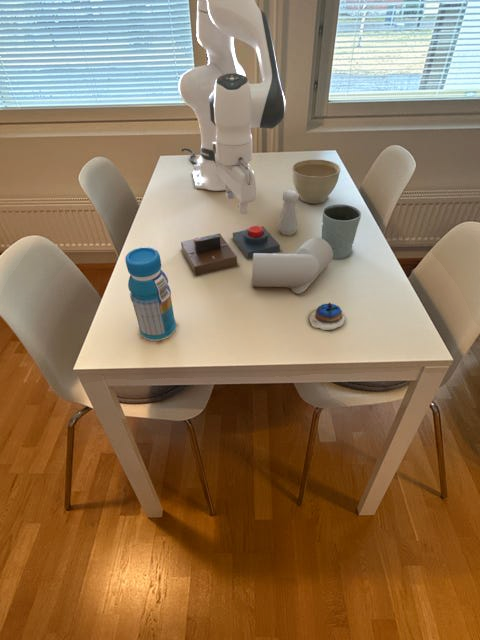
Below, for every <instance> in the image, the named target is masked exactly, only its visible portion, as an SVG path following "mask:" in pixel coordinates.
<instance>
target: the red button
mask: <svg viewBox="0 0 480 640" xmlns="http://www.w3.org/2000/svg"><path fill="white" fill-rule="evenodd" d="M248 229H249V236H251V237H261V236H262V235H263V228H262V226H259V225H252V226H250V227H249V228H248Z"/></svg>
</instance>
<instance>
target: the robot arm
mask: <svg viewBox="0 0 480 640" xmlns="http://www.w3.org/2000/svg"><path fill="white" fill-rule="evenodd" d="M196 2H197V3H196V38H197V42H198V44H199V45H200V46H201V47H202V48H203V49H204V50H205V51H206V54H207V64H203V65H199V66H194V67H192V68H191V69H189V70H187V71H186V72H184V73H182V74H181V76H180V78H179V81H178V91H179V95H180V97H181V99H182V101H183V102H184V103H185V104H186V105H187V106H189V107H190V108H191V109H192V111H193V112H194V114H195V116H196V118H197V122H198V125H199V133H200V141H201V142H200V143H201V145H200V156H199V157H198V158H197V160H196V161H194V160H193V158H194V157H195V152H194V151H193V150H192V149H190V148H188V147H183V148H182V149H181V152H184V151H187V152H189V153H190V154H191V155H190V156H189V161H190V163H192V164H193V171H192V178H193V182H194V187H195V188H196V189H203V190H208V191H213V192H215V191H216V192H220V191H225V196H226V198H227V199H228V200H231V199H234V198H235V197H236V198H237V200H238V202H239V203H238V205H237V211H238V212H239V214H241V215H242V214H247V208H248V204H249V203H253V202H255V201H256V199H257V187H256V177H255V172H254V170H253V169H252V168H251V167H250V164H249V163H250V162H252V160H253V135H252V131H251V130H252V129H251V128H260V129H270V130H272V129H274V128H275V127H277V126H278V125H279V124H280V123H281V122H282V121H283V120H284V117H285V113H286V98H285V95H284V91H283V87H282V83H281V80H280V74H279V70H278V64H277V58H276V53H275V52H276V51H275V48H274V42H273V36H272V31H271V28H270V23H269V19H268V17H267V14H266V12H265V11H263V10H262V9H260V7H259V6H258V5H257V3H256V1H255V0H197V1H196ZM235 39H237V40H239V41H241V42H244V43H245V44H246V45H248V46H250V47H252V48H253V50H254V51H255V53H256V55H257V59H258V66H259V69H260V70H259V71H260V78H261V82H260V83H250V81H249V78H248V77H247V76H246V72H245V69H244V68H243V66H242V64H240V62H239V61H238V59H237V56H236V55H237V54H236V50H235V42H234V41H235Z"/></svg>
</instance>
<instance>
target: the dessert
mask: <svg viewBox="0 0 480 640" xmlns="http://www.w3.org/2000/svg"><path fill="white" fill-rule="evenodd" d="M309 323H310V325H311V327H312V328H316V329H320V330H322V331H330V330H331V331H332V330H335V329H337V328H339V327H341V326H343V325H344V323H345V317H344V316H343V310H342V309H341V307H340V306H339V305H337V304H334V303H331V302H328V303H322V304H320V305H319V306H318V307H317V308H316V309H315V310H313V312H311V314H310V315H309Z"/></svg>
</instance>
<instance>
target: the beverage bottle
mask: <svg viewBox="0 0 480 640" xmlns="http://www.w3.org/2000/svg"><path fill="white" fill-rule="evenodd" d="M124 259H125V265H126V269H127V272H128V274H129V275H130V276H129V278H128V284H127V287H128V290H129V297H130V301H131V303H132V306H133V309H134V313H135V317H136V320H137V324H138V328H139V332H140V335H141V336H142V337H143V338H144V339H146V340H148V341H153V342H159V341H163V340H166V339H168V338H169V337H171V336H172V335H173V334H174V333H175V331H176V328H177V323H176V319H175V314H174V307H173V304H172V303H173V301H172V297H171V294H172V291H171V287H170V285H169V279H168V276H167V275H166V273H165V272H164V271H163V270H162V260H161V255H160V253H159V251H158V250H157V249H156V248H153V247H148V246H143V247H137V248H135V249H132V250H130V251H129V252H128V253H127V254H126V255H125V258H124Z"/></svg>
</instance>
